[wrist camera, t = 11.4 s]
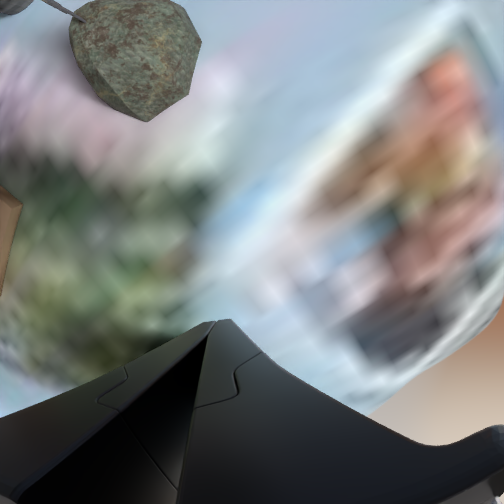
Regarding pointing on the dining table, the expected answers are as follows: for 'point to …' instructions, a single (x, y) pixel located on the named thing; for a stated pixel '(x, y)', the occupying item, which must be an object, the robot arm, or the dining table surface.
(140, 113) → the sword in stone
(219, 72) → the dining table surface
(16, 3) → the beverage cup
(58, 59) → the dining table surface
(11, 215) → the gauge board
